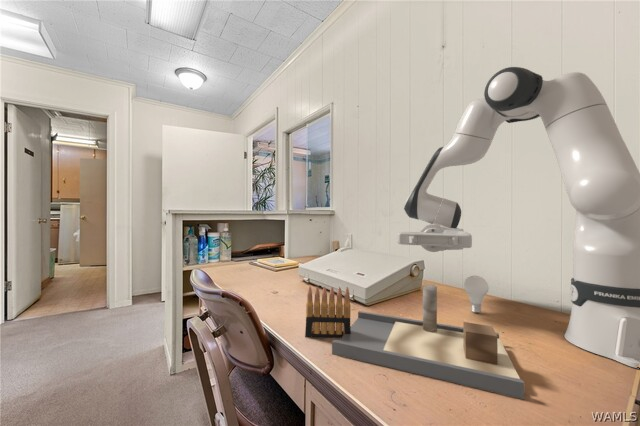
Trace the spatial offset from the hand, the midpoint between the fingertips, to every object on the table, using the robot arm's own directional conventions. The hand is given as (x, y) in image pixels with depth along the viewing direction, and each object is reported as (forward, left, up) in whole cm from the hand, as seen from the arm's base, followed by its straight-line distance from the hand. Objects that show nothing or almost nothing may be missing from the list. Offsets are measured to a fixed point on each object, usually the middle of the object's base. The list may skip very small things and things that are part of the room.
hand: (432, 241), depth 73 cm
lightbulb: (-12, -12, -22) cm, 28 cm away
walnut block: (-9, +21, -20) cm, 30 cm away
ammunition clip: (+22, +21, -22) cm, 38 cm away
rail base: (+2, +19, -22) cm, 29 cm away
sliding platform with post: (-3, +18, -20) cm, 28 cm away
